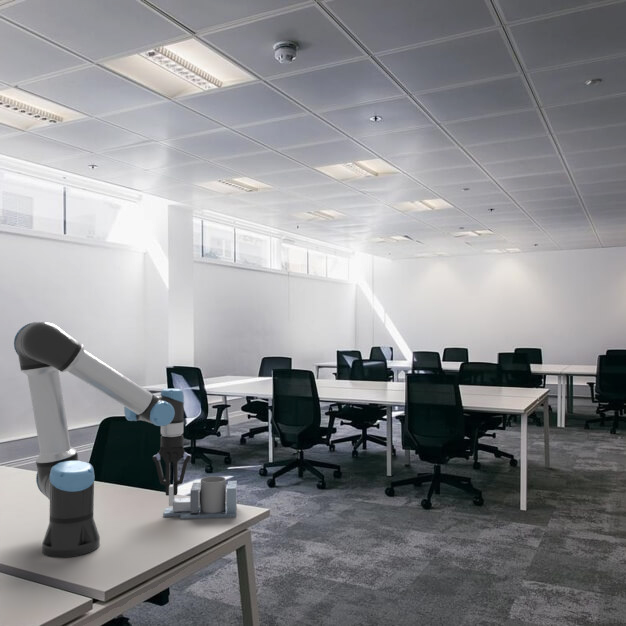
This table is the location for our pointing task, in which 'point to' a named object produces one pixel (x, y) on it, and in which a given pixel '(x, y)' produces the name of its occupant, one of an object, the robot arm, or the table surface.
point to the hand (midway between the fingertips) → (171, 504)
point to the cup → (213, 494)
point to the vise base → (228, 512)
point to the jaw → (189, 500)
